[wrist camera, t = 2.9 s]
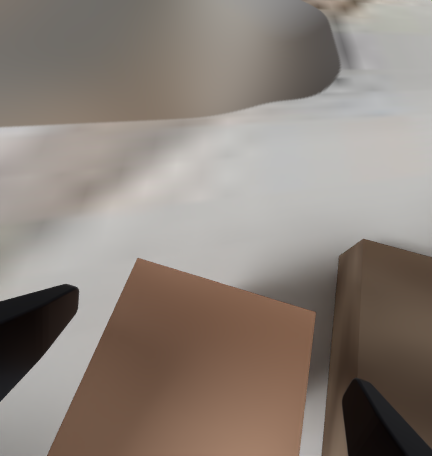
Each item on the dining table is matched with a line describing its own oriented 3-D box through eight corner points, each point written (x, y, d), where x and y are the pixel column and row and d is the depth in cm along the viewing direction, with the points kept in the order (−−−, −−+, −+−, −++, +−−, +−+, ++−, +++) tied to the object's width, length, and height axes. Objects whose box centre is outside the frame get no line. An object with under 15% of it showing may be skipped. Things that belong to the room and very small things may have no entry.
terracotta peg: (230, 427, 13) (282, 594, 4) (147, 397, 14) (31, 490, 5) (250, 334, 15) (315, 311, 6) (177, 311, 16) (137, 258, 7)
